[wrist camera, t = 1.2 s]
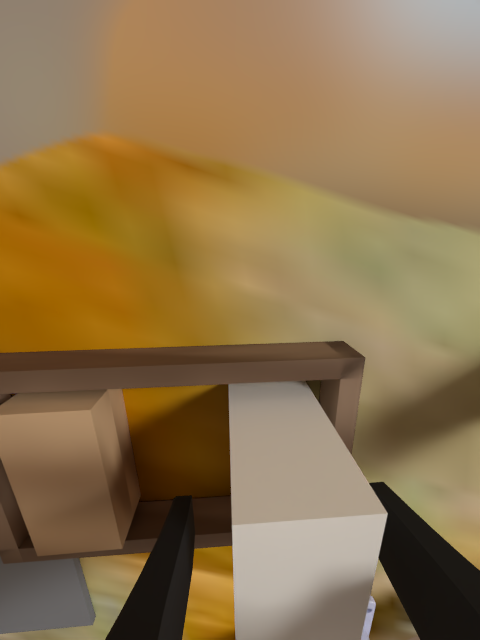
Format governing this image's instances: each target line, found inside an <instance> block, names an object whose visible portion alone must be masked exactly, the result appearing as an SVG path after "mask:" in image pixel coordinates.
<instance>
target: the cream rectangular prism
mask: <svg viewBox="0 0 480 640" xmlns="http://www.w3.org/2000/svg"><path fill="white" fill-rule="evenodd" d="M228 387H229V427H230V467H231V507H232V542H233V575H234V607H235V639H236V640H361V636H362V632H363V627H364V622H365V618H366V613H367V608H368V604H369V599H370V594H371V590H372V585H373V580H374V575H375V571H376V566H377V561H378V557H379V552H380V547H381V543H382V538H383V533H384V529H385V524H386V519H387V515H388V513H387V512H386V510H385V508H384V507H383V505H382V503H381V502H380V500H379V499H378V497H377V495H376V494H375V492H374V491H373V489H372V487H371V486H370V484H369V483H368V481H367V479H366V478H365V476H364V475H363V473H362V471H361V470H360V468H359V467H358V465H357V463H356V462H355V460H354V458H353V457H352V455H351V454H350V452H349V450H348V449H347V447H346V446H345V444H344V442H343V441H342V439H341V438H340V436H339V434H338V433H337V431H336V430H335V428H334V426H333V425H332V423H331V422H330V420H329V418H328V417H327V415H326V413H325V412H324V410H323V409H322V407H321V405H320V404H319V402H318V401H317V399H316V397H315V396H314V394H313V393H312V391H311V389H310V388H309V386H308V385H307V383H306V381H285V382H262V383H239V384H228Z"/></svg>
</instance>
